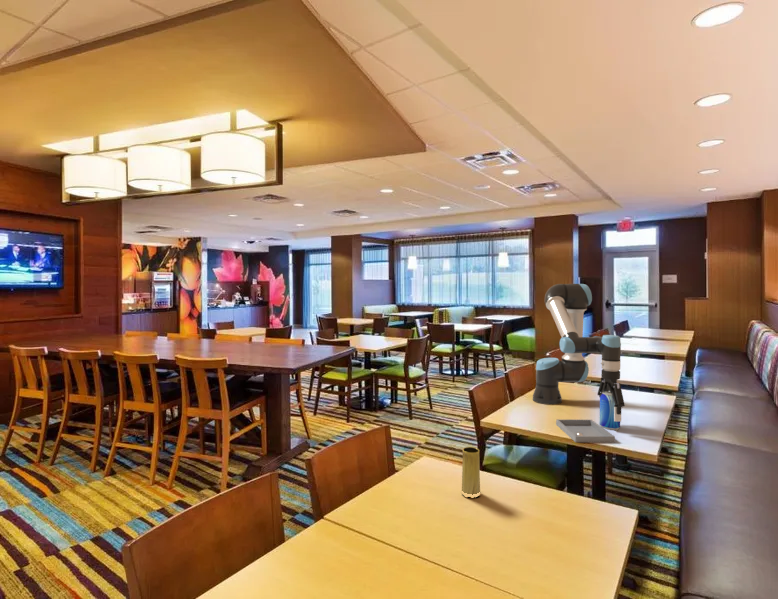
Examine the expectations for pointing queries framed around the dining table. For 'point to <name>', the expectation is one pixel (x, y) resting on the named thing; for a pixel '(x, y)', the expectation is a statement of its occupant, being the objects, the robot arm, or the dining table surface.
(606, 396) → the beer can
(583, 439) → the tray
